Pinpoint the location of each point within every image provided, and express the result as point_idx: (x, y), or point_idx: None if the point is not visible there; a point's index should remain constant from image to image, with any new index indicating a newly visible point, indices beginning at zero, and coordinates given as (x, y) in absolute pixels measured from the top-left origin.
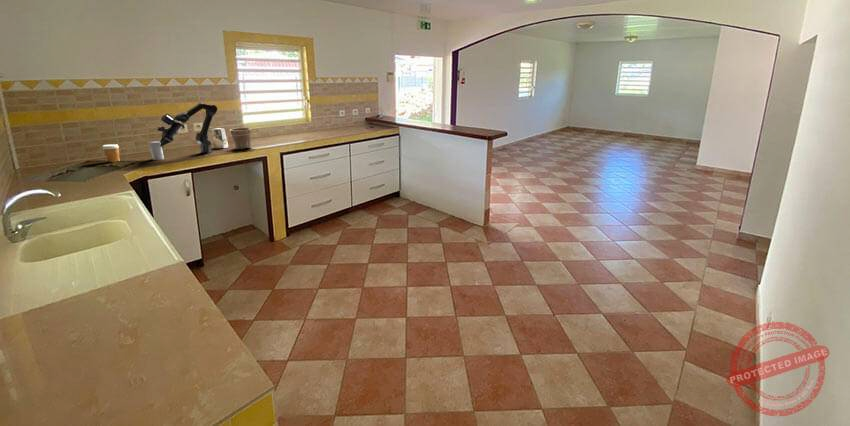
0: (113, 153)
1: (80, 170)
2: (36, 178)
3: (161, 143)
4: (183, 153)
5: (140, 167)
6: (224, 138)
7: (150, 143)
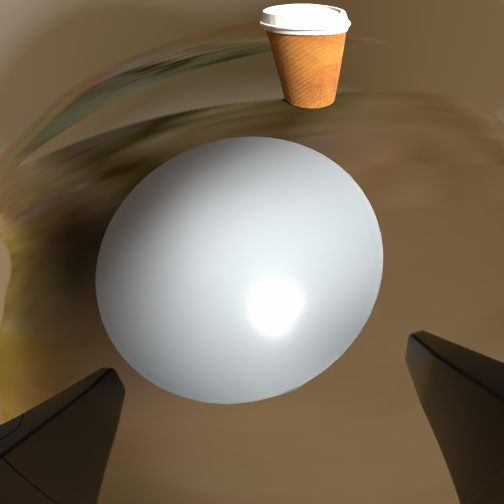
0: (275, 56)
1: (166, 75)
2: (138, 60)
3: (56, 397)
4: None
5: (40, 242)
6: None
7: (157, 177)
